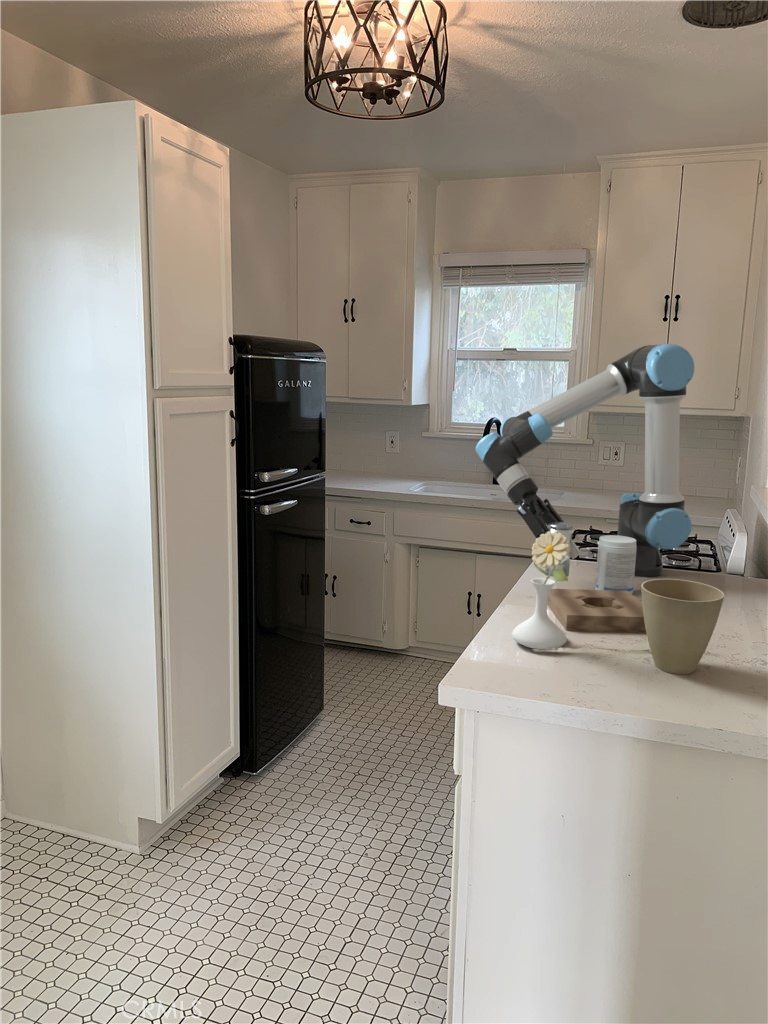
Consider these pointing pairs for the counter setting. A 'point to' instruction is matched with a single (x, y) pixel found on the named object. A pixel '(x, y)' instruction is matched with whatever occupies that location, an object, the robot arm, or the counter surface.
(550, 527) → the silver capped jar
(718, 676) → the counter surface
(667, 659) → the plant pot
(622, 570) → the supplement tub
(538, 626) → the flower in vase
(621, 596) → the walnut socket block
